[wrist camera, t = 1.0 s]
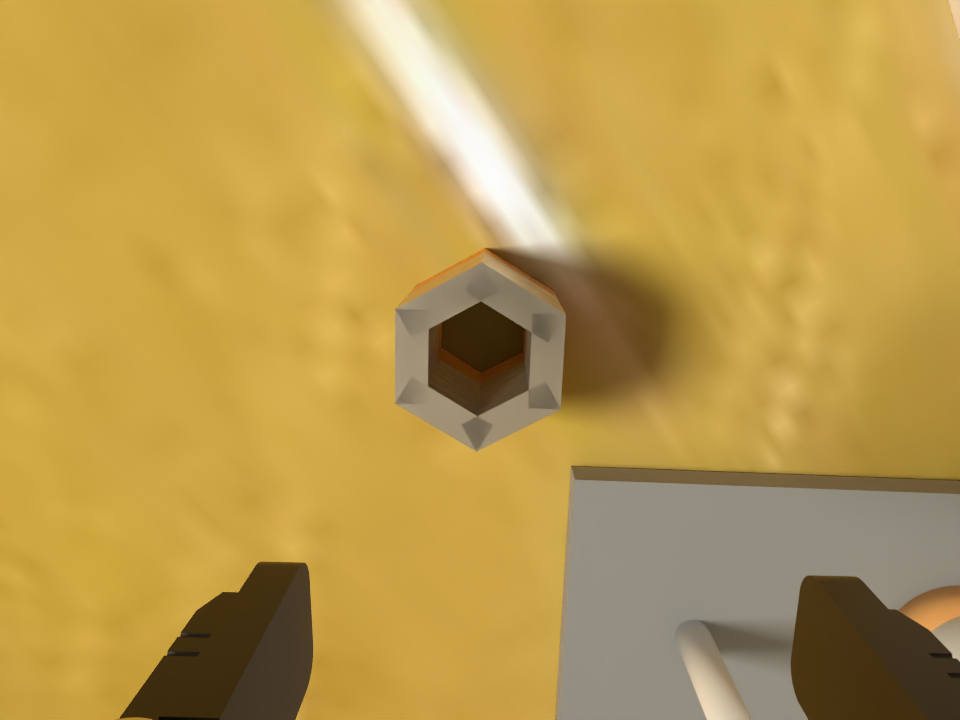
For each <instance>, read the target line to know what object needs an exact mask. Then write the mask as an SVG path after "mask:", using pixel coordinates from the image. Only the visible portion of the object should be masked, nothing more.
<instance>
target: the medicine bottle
mask: <svg viewBox="0 0 960 720" xmlns="http://www.w3.org/2000/svg"><path fill="white" fill-rule="evenodd" d="M948 3H949V7H950V10H951V13H952V17H953V20H954V24H955V27H956V31H957V34H958V38H959V41H960V0H948Z"/></svg>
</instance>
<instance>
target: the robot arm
mask: <svg viewBox="0 0 960 720" xmlns="http://www.w3.org/2000/svg"><path fill="white" fill-rule="evenodd" d="M312 661H313V636H312V617H311V599H310V580H309V571H308V567H307V565H306V563H294V562H259V563H258V564H257V565H256V566H255V568H254V569H253V571H252V572H251V574H250V575H249V577H248V579H247V580H246V582H245V583H244V585H243V586H242V588H241V589H240V591H239V592H238V593H236V592H222V593H221V594H220V595H218V596H217V597H215V598H214V599H212V600H211V601H210V602H208V603H207V604H205V605H204V606H203V607H201V608H200V609H198V610H197V611H196V612H195V614H194V615H193V616H192V618H191V619H190V621H189V622H188V623H187V625H186V626H185V628H184V629H183V630H182V632H181V636H180V637H177V639H176V640H175V642H174V643H173V644H172V646H171V647H170V648H169V650H168V654H167V656H164V657H163V658H162V660H161V661H160V662H159V664H158V665H157V667H156V668H155V669H154V671H153V672H152V674H151V675H150V676H149V678H148V679H147V681H146V682H145V683H144V685H143V686H142V688H141V689H140V690H139V692H138V693H137V695H136V696H135V697H134V699H133V700H132V702H131V703H130V704H129V706H128V707H127V708H126V710H125V711H124V713H123V714H122V715H121V717H120V718H119V719H117V720H295V719H296V716H297V714H298V711H299V708H300V706H301V703H302V701H303V698H304V695H305V693H306V690H307V687H308V684H309V680H310V675H311V669H312ZM791 678H792V684H793V688H794V692H795V695H796V698H797V700H798V702H799V704H800V706H801V708H802V710H803V711H804V713H805V715H806V717H807V718H808V720H960V661H959V660H958V659H957V658H953V657H952V653H951V652H950V651H949V650H948V649H947V648H946V647H945V646H944V645H943V644H942V643H941V642H940V641H939V640H938V639H937V638H936V637H935V636H934V634H933V633H932V632H931V631H930V630H928V629H927V628H925V627H924V626H922V625H920V624H919V623H917V622H916V621H914V620H912V619H911V618H909V617H907V616H906V615H904V614H903V613H901V612H899V611H898V610H896V609H888V608H887V607H886V606H885V605H884V604H883V603H882V602H881V601H880V600H879V598H878V597H877V596H876V595H875V594H874V593H873V592H872V591H871V590H870V589H869V587H868V586H867V585H866V584H865V583H864V582H863V581H862V580H861V579H860V578H858V577H855V576H817V575H809V576H806V577H805V578H804V579H803V581H802V583H801V586H800V592H799V600H798V608H797V615H796V623H795V631H794V639H793V646H792V654H791Z"/></svg>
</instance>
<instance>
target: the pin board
mask: <svg viewBox="0 0 960 720" xmlns="http://www.w3.org/2000/svg"><path fill="white" fill-rule="evenodd" d="M809 575H817V576H855V577H858V578H860V579H861V580H862V581H863V582H864V583H865V584H866V585H867V586H868V587H869V589H870V590H871V591H872V592H873V593H874V594H875V595H876V596H877V597H878V598H879V600H880V601H881V602H882V603H883V604H884V605H885V606H886V607H887V608H888V609H896V610H898V611H899V612H901V613H903V614H904V615H906V616H907V617H909V618H911V619H912V620H914V621H916V622H917V623H919V624H920V625H922V626H924V627H925V628H927V629H928V630H930V631H931V632H932V633H933V634H934V636H935V637H936V638H937V639H938V640H939V641H940V642H941V643H942V644H943V645H944V646H945V647H946V648H947V649H948V650H949V651H950V652H951V653H952V657H953V658H957V659H958V660H959V661H960V481H958V480H931V479H904V478H877V477H850V476H823V475H796V474H769V473H742V472H715V471H688V470H662V469H635V468H608V467H581V466H571V479H570V495H569V511H568V527H567V543H566V559H565V575H564V591H563V607H562V623H561V639H560V655H559V671H558V687H557V703H556V719H555V720H808V718H807V717H806V715H805V713H804V711H803V710H802V708H801V706H800V704H799V702H798V700H797V698H796V695H795V692H794V688H793V684H792V678H791V654H792V646H793V639H794V631H795V623H796V615H797V608H798V600H799V592H800V586H801V583H802V581H803V579H804V578H805V577H806V576H809Z"/></svg>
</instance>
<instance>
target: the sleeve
mask: <svg viewBox="0 0 960 720" xmlns="http://www.w3.org/2000/svg"><path fill="white" fill-rule="evenodd" d="M479 302H483V303H484V304H486V305H488V306H489V307H491V308H492V309H494V310H496V311H497V312H499V313H501V314H502V315H504V316H505V317H507V318H509V319H510V320H512V321H514V322H515V323H517V324H518V325H520V326H522V327H523V328H524V343H523V352H521V353H519V354H517V355H515V356H513V357H511V358H509V359H507V360H505V361H503V362H501V363H500V364H498V365H496V366H494V367H492V368H490V369H488V370H486V371H484V372H480V371H478V370H477V369H475V368H473V367H472V366H470V365H468V364H467V363H465V362H463V361H462V360H460V359H458V358H457V357H455V356H453V355H452V354H450V353H448V352H447V351H445V350H443V349H442V322H443V321H445V320H447V319H449V318H451V317H452V316H454V315H456V314H458V313H460V312H462V311H464V310H466V309H468V308H469V307H471V306H473V305H475V304H477V303H479ZM565 327H566V313H565V312H564V310H563V308H562V306H561V304H560V302H559V301H558V299H557V297H556V295H555V293H554V291H553V290H552V289H550V288H548V287H547V286H545V285H544V284H542V283H540V282H539V281H537V280H536V279H534V278H532V277H531V276H529V275H528V274H526V273H524V272H523V271H521V270H520V269H518V268H516V267H515V266H513V265H512V264H510V263H508V262H507V261H505V260H504V259H502V258H500V257H499V256H497V255H496V254H494V253H492V252H491V251H489V250H488V249H486V248H485V249H483V250H481V251H479V252H478V253H476V254H474V255H472V256H470V257H468V258H467V259H465V260H463V261H461V262H459V263H457V264H455V265H454V266H452V267H450V268H448V269H446V270H444V271H443V272H441V273H439V274H437V275H435V276H433V277H431V278H430V279H428V280H426V281H424V282H422V283H420V284H419V285H417V286H415V288H414V289H413V290H412V291H411V292H410V293H409V294H408V295H407V297H406V298H405V299H404V300H403V301H402V302H401V303H400V304H399V306H398V307H397V308H396V309H395V404H397V405H399V406H400V407H402V408H404V409H406V410H407V411H409V412H411V413H412V414H414V415H416V416H417V417H419V418H421V419H422V420H424V421H426V422H427V423H429V424H431V425H433V426H434V427H436V428H438V429H439V430H441V431H443V432H444V433H446V434H448V435H449V436H451V437H453V438H455V439H456V440H458V441H460V442H461V443H463V444H465V445H466V446H468V447H470V448H471V449H473V450H475V451H478V450H480V449H482V448H484V447H486V446H488V445H490V444H492V443H494V442H496V441H498V440H500V439H502V438H504V437H506V436H508V435H510V434H512V433H514V432H516V431H518V430H520V429H522V428H524V427H526V426H528V425H530V424H532V423H534V422H536V421H538V420H540V419H542V418H544V417H546V416H548V415H550V414H552V413H554V412H556V411H558V410H560V409H561V396H562V379H563V361H564V344H565Z"/></svg>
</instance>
